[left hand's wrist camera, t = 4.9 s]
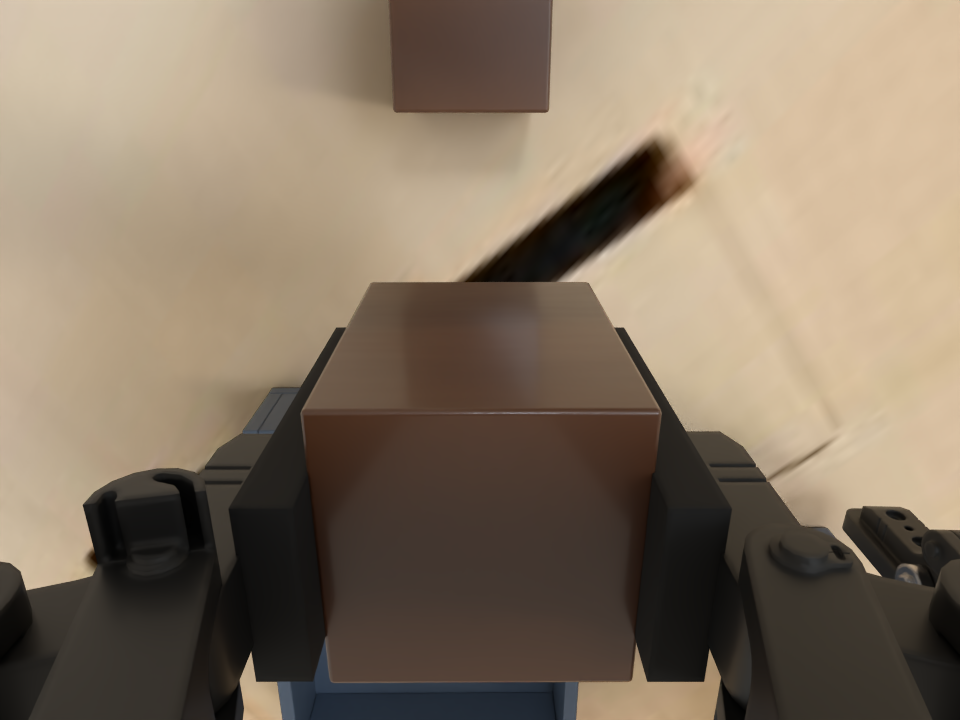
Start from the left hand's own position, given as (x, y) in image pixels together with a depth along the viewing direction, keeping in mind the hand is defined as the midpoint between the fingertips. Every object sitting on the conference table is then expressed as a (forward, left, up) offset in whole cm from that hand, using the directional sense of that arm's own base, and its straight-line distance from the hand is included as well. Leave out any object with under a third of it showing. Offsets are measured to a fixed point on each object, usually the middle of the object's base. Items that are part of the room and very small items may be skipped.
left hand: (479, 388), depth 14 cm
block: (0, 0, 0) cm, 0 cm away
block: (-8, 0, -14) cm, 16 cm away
